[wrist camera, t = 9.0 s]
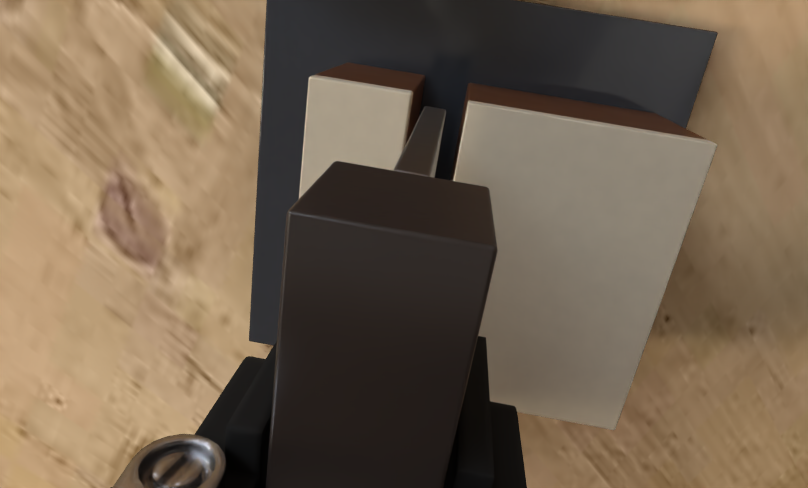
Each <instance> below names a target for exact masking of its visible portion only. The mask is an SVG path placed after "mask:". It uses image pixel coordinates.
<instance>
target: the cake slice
mask: <svg viewBox="0 0 808 488" xmlns="http://www.w3.org/2000/svg"><path fill="white" fill-rule="evenodd" d="M424 82H425V75H421V74H415V73H409V72H403V71H397V70H391V69H385V68H379V67H373V66H367V65H361V64H355V63H349V62H348V63H345V64H342V65H340V66H337V67H334V68H331V69H329V70H326V71H323V72H320V73H318V74H315V75H313V76H310V77H309V80H308V92H307V105H306V117H305V129H304V141H303V153H302V166H301V178H300V190H299V198H300V197H301V196H302V195H303V194H304V193H305V192H306V191H307V190H308V189H309V188H310V187H311V186H312V185H313V184H314V182H315V181H316V180H317V179H318V178H319V177H320V176H321V175H322V174H323V173H324V172H325V171H326V170H327V169H328V168H329V167H330V165H331V164H332V163H333V162H335V161H341V162H347V163H352V164H358V165H364V166H370V167H375V168H381V169H387V170H394V168H395V166H396V164H397V162H398V160H399V157H400V155H401V153H402V151H403V149H404V147H405V145H406V143H407V141H408V139H409V137H410V135H411V133H412V131H413V129H414V127H415V125H416V123H417V121H418V119H419V114H420V108H421V101H422V95H423V89H424Z"/></svg>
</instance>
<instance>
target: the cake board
mask: <svg viewBox="0 0 808 488" xmlns="http://www.w3.org/2000/svg"><path fill="white" fill-rule="evenodd" d="M717 34H718V33H717V32H714V31H708V30H701V29H695V28H689V27H682V26H676V25H670V24H663V23H657V22H651V21H645V20H638V19H632V18H626V17H619V16H613V15H607V14H600V13H594V12H588V11H581V10H575V9H569V8H563V7H556V6H550V5H544V4H537V3H531V2H525V1H518V0H267V6H266V25H265V45H264V64H263V83H262V102H261V121H260V140H259V159H258V178H257V197H256V216H255V235H254V254H253V274H252V293H251V312H250V331H249V341H252V342H258V343H263V344H268V345H274V344H275V343H276V341H277V335H278V322H279V309H280V296H281V283H282V270H283V257H284V244H285V231H286V218H287V212H288V210H289V209H290V208H291V207H292V206H293V205H294V204H295V203H296V202H297V201H298V199H299V190H300V178H301V166H302V153H303V141H304V129H305V117H306V105H307V92H308V80H309V77H310V76H313V75H315V74H318V73H320V72H323V71H326V70H329V69H331V68H334V67H337V66H340V65H342V64H345V63H348V62H349V63H355V64H361V65H367V66H373V67H379V68H385V69H391V70H397V71H403V72H409V73H415V74H421V75H425V82H424V89H423V95H422V101H421V108H420V114H419V117H420V115H421V113H422V111H423V109H424V107H425V106H428V107H434V108H440V109H444V110H446V115H445V121H444V127H443V132H442V138H441V144H440V149H439V155H438V161H437V166H436V172H435V178H439V179H445V180H450V178H451V172H452V167H453V161H454V156H455V151H456V145H457V140H458V134H459V129H460V124H461V118H462V113H463V107H464V102H465V97H466V91H467V86H468V83H475V84H481V85H487V86H493V87H499V88H505V89H512V90H518V91H524V92H530V93H536V94H542V95H548V96H554V97H560V98H566V99H572V100H578V101H584V102H590V103H596V104H602V105H608V106H614V107H620V108H626V109H633V110H639V111H645V112H651V113H656V114H658V115H660V116H662V117H664V118H666V119H668V120H670V121H671V122H673V123H675V124H677V125H679V126H681V127H683V128H685V129H686V127H687V124H688V121H689V118H690V115H691V112H692V109H693V106H694V103H695V100H696V97H697V94H698V91H699V88H700V85H701V82H702V79H703V76H704V73H705V70H706V67H707V64H708V61H709V58H710V55H711V52H712V49H713V46H714V43H715V40H716V37H717Z"/></svg>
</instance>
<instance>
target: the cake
mask: <svg viewBox="0 0 808 488" xmlns="http://www.w3.org/2000/svg"><path fill="white" fill-rule="evenodd" d="M716 148H717V144H716V143H714V142H712V141H710V140H707V139H705V138H703V137H701V136H699V135H697V134H695V133H693V132H691V131H689V130H687V129H685V128H683V127H681V126H679V125H677V124H675V123H673V122H671V121H670V120H668V119H666V118H664V117H662V116H660V115H658V114H656V113H651V112H645V111H639V110H633V109H626V108H620V107H614V106H608V105H602V104H596V103H590V102H584V101H578V100H572V99H566V98H560V97H554V96H548V95H542V94H536V93H530V92H524V91H518V90H512V89H505V88H499V87H493V86H487V85H481V84H475V83H468V86H467V91H466V97H465V102H464V107H463V113H462V118H461V124H460V129H459V134H458V140H457V145H456V151H455V156H454V161H453V167H452V172H451V178H450V181H456V182H462V183H468V184H473V185H479V186H485V187H487V188H489V191H490V197H491V205H492V212H493V220H494V227H495V235H496V242H497V250H498V252H497V256H496V261H495V265H494V269H493V274H492V278H491V282H490V287H489V291H488V295H487V300H486V304H485V308H484V313H483V317H482V321H481V326H480V330H479V334H478V336H482V337H486V344H487V360H488V377H489V394H490V401H491V402H497V403H502V404H507V405H513V406H515V407H516V410H517V412H520V413H525V414H531V415H536V416H541V417H547V418H552V419H557V420H562V421H568V422H573V423H578V424H584V425H589V426H594V427H599V428H605V429H610V430H615V428H616V425H617V423H618V420H619V417H620V414H621V412H622V409H623V406H624V403H625V400H626V398H627V395H628V392H629V389H630V387H631V384H632V381H633V378H634V376H635V373H636V370H637V367H638V364H639V362H640V359H641V356H642V353H643V351H644V348H645V345H646V342H647V340H648V337H649V334H650V331H651V328H652V326H653V323H654V320H655V317H656V315H657V312H658V309H659V306H660V303H661V301H662V298H663V295H664V292H665V290H666V287H667V284H668V281H669V279H670V276H671V273H672V270H673V267H674V265H675V262H676V259H677V256H678V254H679V251H680V248H681V245H682V243H683V240H684V237H685V234H686V231H687V229H688V226H689V223H690V220H691V218H692V215H693V212H694V209H695V207H696V204H697V201H698V198H699V195H700V193H701V190H702V187H703V184H704V182H705V179H706V176H707V173H708V171H709V168H710V165H711V162H712V159H713V157H714V154H715V151H716Z"/></svg>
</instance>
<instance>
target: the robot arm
mask: <svg viewBox="0 0 808 488" xmlns="http://www.w3.org/2000/svg"><path fill="white" fill-rule="evenodd" d="M276 348H277V341H276V343H275V344H274V346H273V348H272V349H271V351H270V353H269V355H268V356H267V358H266V359H261V358H256V357H250V356H248V357H246V358H245V359H244V360H243V362H242V363H241V365H240V366H239V368H238V369H237V371H236V372H235V374H234V375H233V377H232V378H231V380H230V381H229V383H228V384H227V386H226V387H225V389H224V391H223V392H222V394H221V395H220V397H219V398H218V400H217V401H216V403H215V404H214V406H213V407H212V409H211V410H210V412H209V413H208V415H207V416H206V418H205V420H204V421H203V423H202V424H201V426H200V427H199V429H198V430H197V432H196V433H195V435H192V434H179V435H173V436H167V437H164V438H161V439H159V440H156V441H153V442H152V443H150V444H149V445H147V446H145V447H144V448H142V449H141V450H140V451H139V452H138V453H137V454H136V455H135V456H134V457H133V458H132V460H131V461H130V463H129V464H128V465H127V467H126V468H125V470H124V471H123V473H122V474H121V476H120V477H119V479H118V480H117V481H116V483H115V484H114V486H113V487H111V488H266V478H267V465H268V452H269V439H270V426H271V413H272V400H273V387H274V374H275V361H276ZM443 488H527V486H526V478H525V470H524V462H523V454H522V447H521V439H520V431H519V423H518V415H517V410H516V407H515V406H513V405H507V404H502V403H497V402H491V401H490V394H489V377H488V360H487V344H486V337H482V336H478V339H477V343H476V347H475V352H474V356H473V360H472V365H471V369H470V373H469V378H468V382H467V386H466V391H465V395H464V399H463V404H462V408H461V412H460V417H459V421H458V426H457V430H456V434H455V439H454V443H453V447H452V452H451V456H450V460H449V465H448V469H447V473H446V478H445V482H444V486H443Z"/></svg>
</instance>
